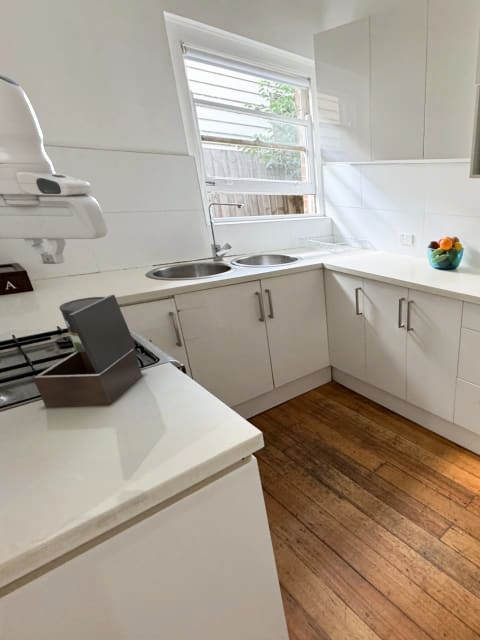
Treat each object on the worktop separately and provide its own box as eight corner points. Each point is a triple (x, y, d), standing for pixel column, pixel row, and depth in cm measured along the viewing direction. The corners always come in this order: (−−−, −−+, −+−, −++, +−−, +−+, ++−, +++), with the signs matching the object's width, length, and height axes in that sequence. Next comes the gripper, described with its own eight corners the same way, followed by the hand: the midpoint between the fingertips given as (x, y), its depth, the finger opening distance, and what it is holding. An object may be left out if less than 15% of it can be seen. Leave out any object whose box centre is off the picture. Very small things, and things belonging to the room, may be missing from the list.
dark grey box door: (67, 315, 69) (72, 314, 69) (110, 294, 80) (114, 294, 80) (96, 373, 74) (100, 373, 74) (132, 347, 85) (136, 346, 85)
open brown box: (45, 407, 75) (32, 377, 72) (87, 377, 87) (77, 350, 84) (109, 405, 77) (99, 375, 74) (142, 375, 88) (134, 348, 85)
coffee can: (73, 368, 90) (52, 312, 84) (84, 351, 98) (66, 299, 93) (126, 360, 94) (109, 306, 89) (132, 345, 103) (117, 294, 97)
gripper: (-64, 181, 61) (-26, 267, 66) (76, 184, 63) (101, 266, 69) (-28, 181, 67) (5, 259, 72) (99, 183, 69) (121, 259, 75)
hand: (53, 263), depth 71 cm, fingers closed
